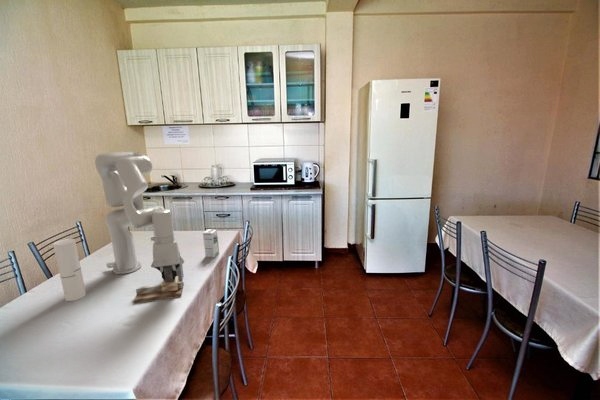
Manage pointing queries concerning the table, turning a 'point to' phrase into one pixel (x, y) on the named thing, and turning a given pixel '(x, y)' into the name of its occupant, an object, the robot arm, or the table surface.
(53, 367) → the table surface
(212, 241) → the syrup box
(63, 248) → the cylindrical container
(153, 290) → the slide rail
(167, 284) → the carriage
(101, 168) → the robot arm
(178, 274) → the gauge cabinet
